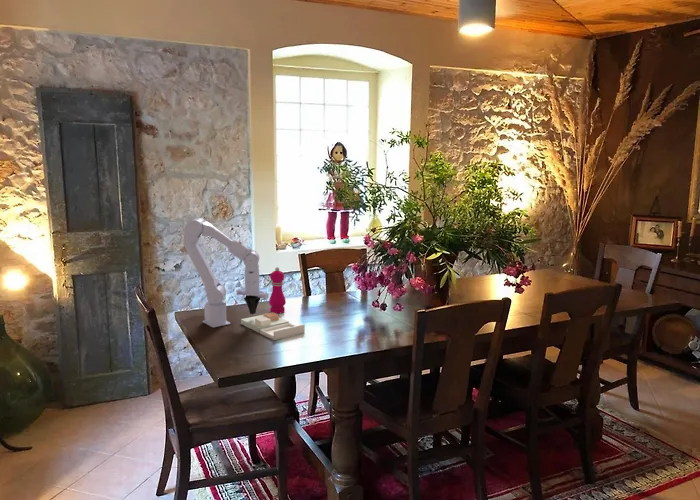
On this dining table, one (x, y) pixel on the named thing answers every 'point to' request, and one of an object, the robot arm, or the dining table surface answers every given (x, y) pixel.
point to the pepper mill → (277, 292)
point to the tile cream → (262, 321)
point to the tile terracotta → (271, 316)
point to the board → (251, 324)
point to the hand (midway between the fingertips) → (252, 313)
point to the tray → (283, 331)
